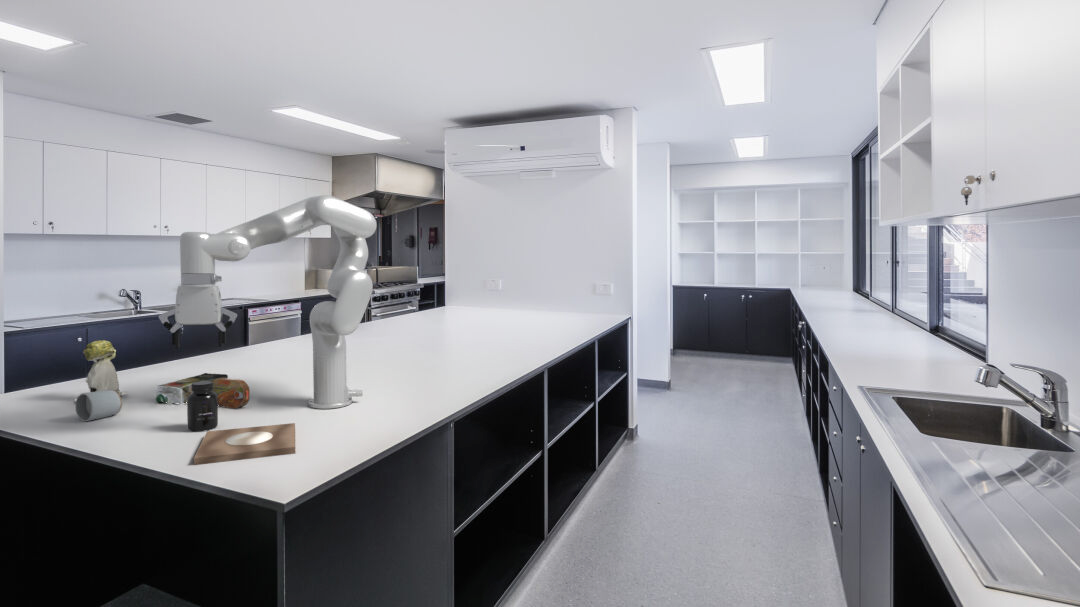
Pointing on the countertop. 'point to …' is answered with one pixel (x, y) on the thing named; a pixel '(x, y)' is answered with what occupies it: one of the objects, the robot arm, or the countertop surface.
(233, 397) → the tin
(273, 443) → the walnut board
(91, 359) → the beige figurine with hat
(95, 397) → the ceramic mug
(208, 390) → the supplement bottle
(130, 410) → the countertop surface
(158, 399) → the juice carton
